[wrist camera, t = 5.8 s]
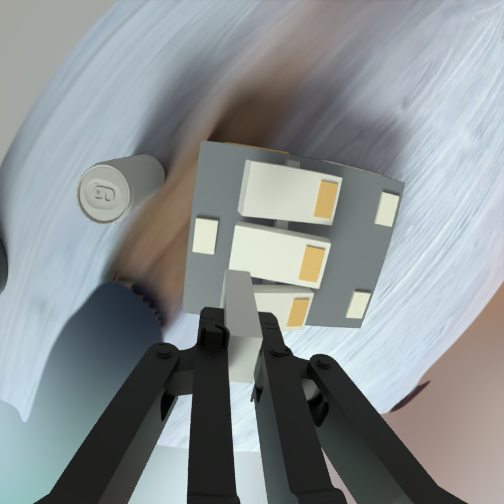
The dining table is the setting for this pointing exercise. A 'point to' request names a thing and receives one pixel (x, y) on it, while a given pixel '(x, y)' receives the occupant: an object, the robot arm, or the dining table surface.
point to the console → (339, 233)
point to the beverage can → (118, 187)
